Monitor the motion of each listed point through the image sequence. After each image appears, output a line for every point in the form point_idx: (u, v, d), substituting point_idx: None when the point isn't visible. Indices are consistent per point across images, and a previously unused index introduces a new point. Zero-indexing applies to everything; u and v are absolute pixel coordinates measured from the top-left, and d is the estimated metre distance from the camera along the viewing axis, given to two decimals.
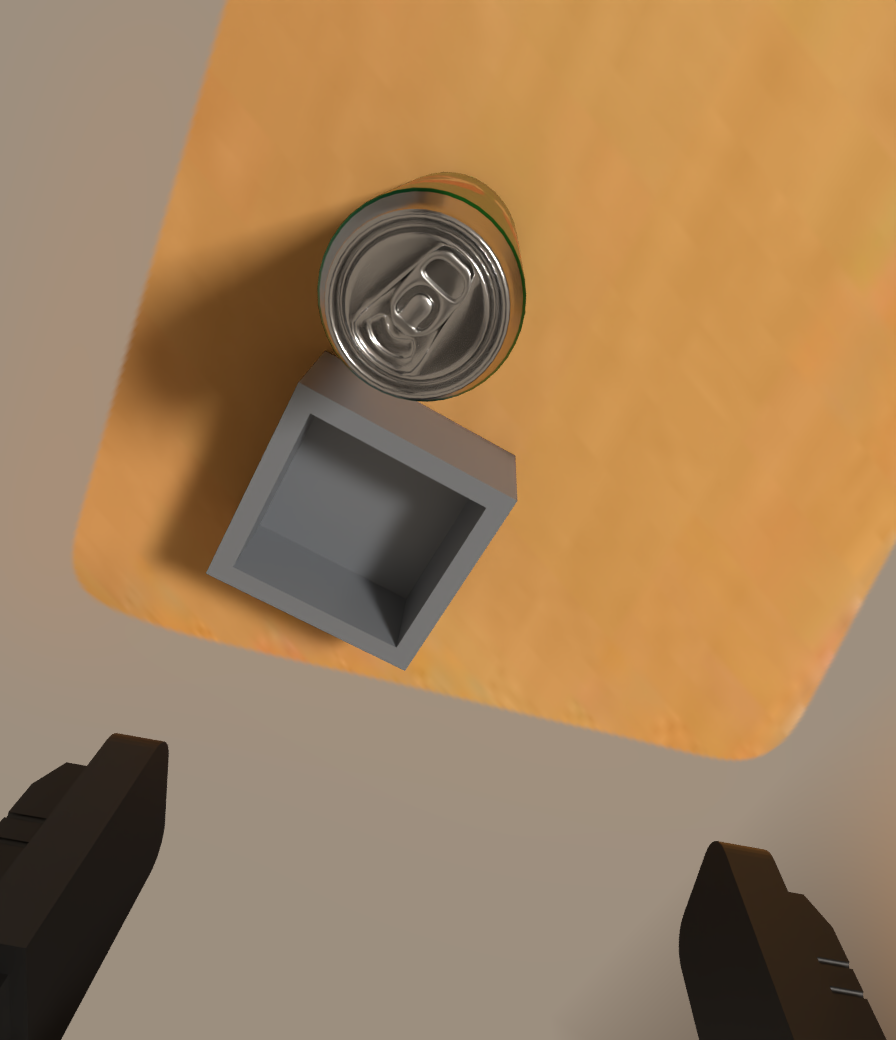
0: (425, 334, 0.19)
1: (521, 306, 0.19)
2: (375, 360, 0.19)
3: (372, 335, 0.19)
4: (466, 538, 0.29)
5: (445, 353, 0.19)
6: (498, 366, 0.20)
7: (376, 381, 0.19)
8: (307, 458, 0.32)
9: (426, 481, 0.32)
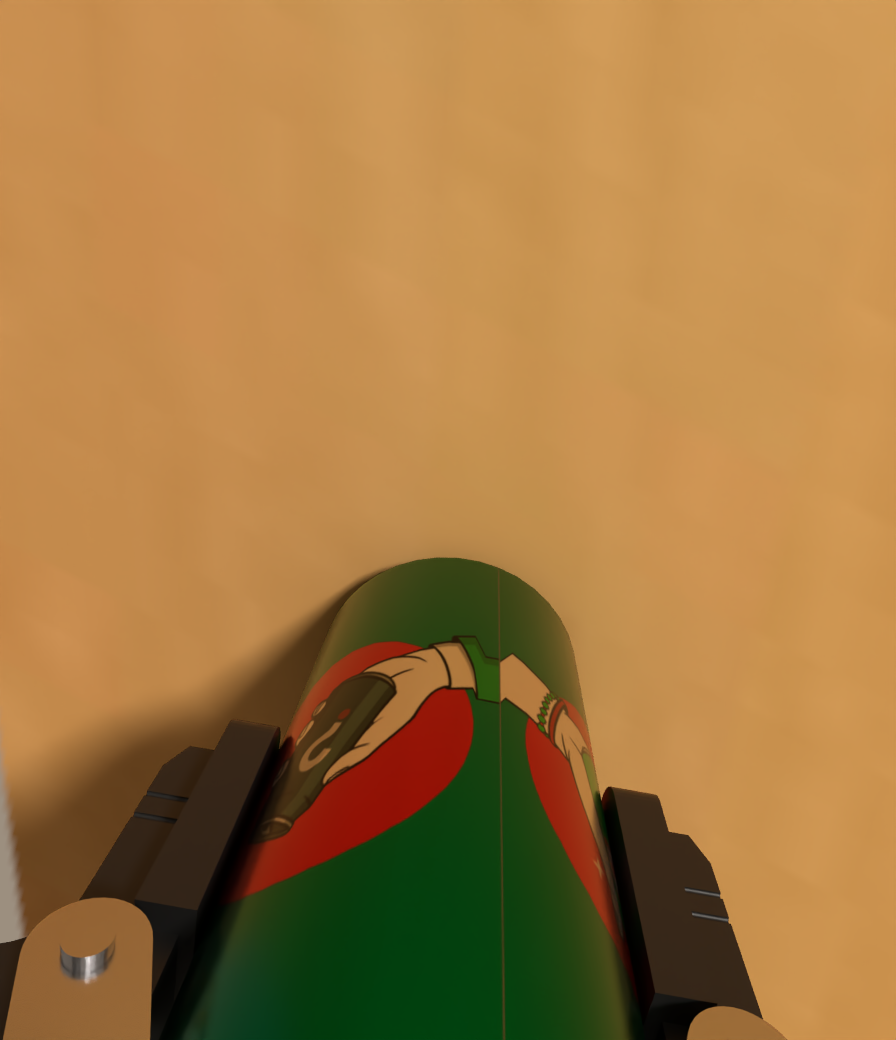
0: None
1: None
2: None
3: None
4: None
5: None
6: None
7: None
8: None
9: None
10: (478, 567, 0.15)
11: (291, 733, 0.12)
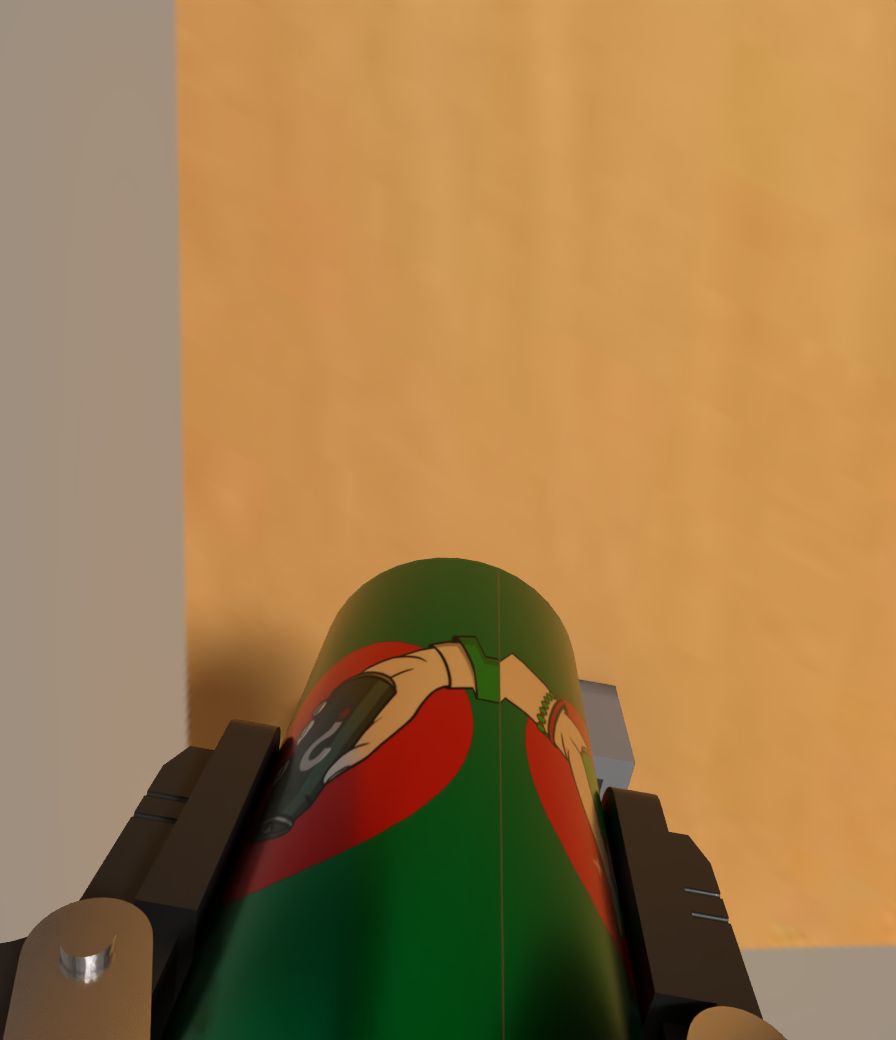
0: None
1: None
2: None
3: None
4: None
5: None
6: None
7: None
8: None
9: None
10: (478, 567, 0.15)
11: (292, 733, 0.12)
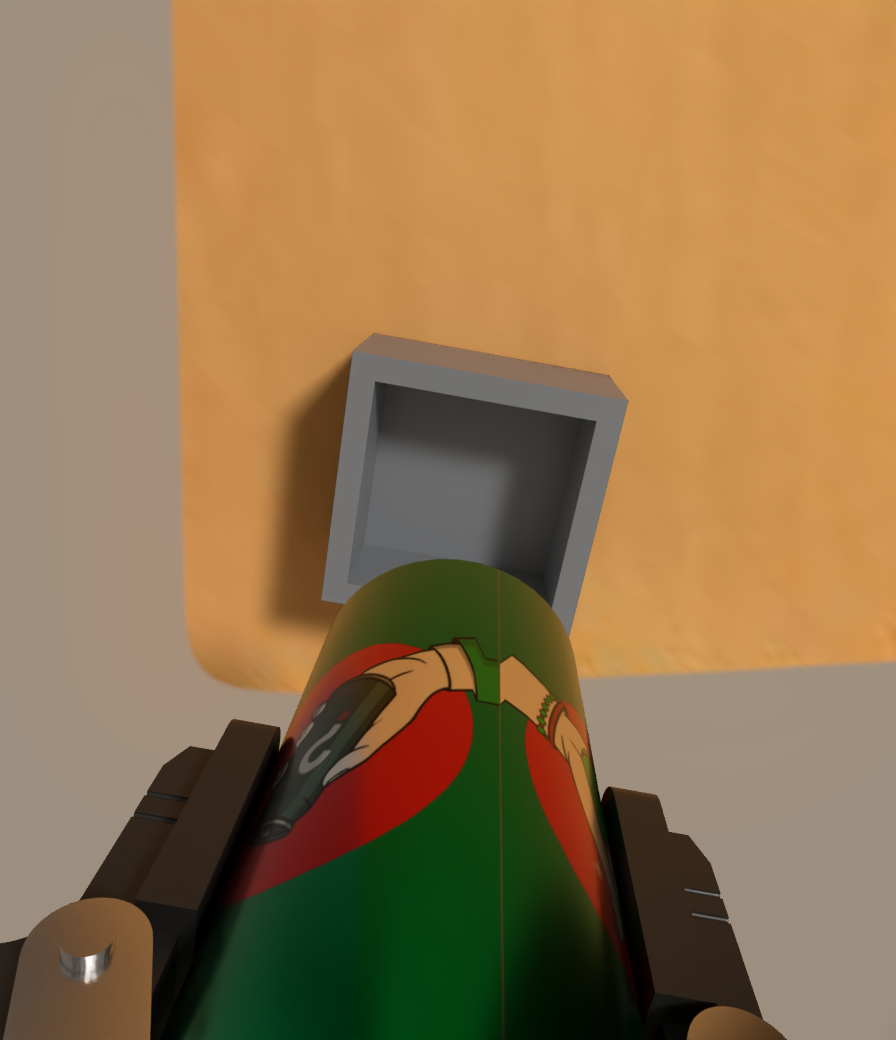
0: None
1: None
2: None
3: None
4: (586, 465, 0.25)
5: None
6: None
7: None
8: (390, 452, 0.29)
9: (522, 434, 0.29)
10: (478, 568, 0.15)
11: (291, 735, 0.12)
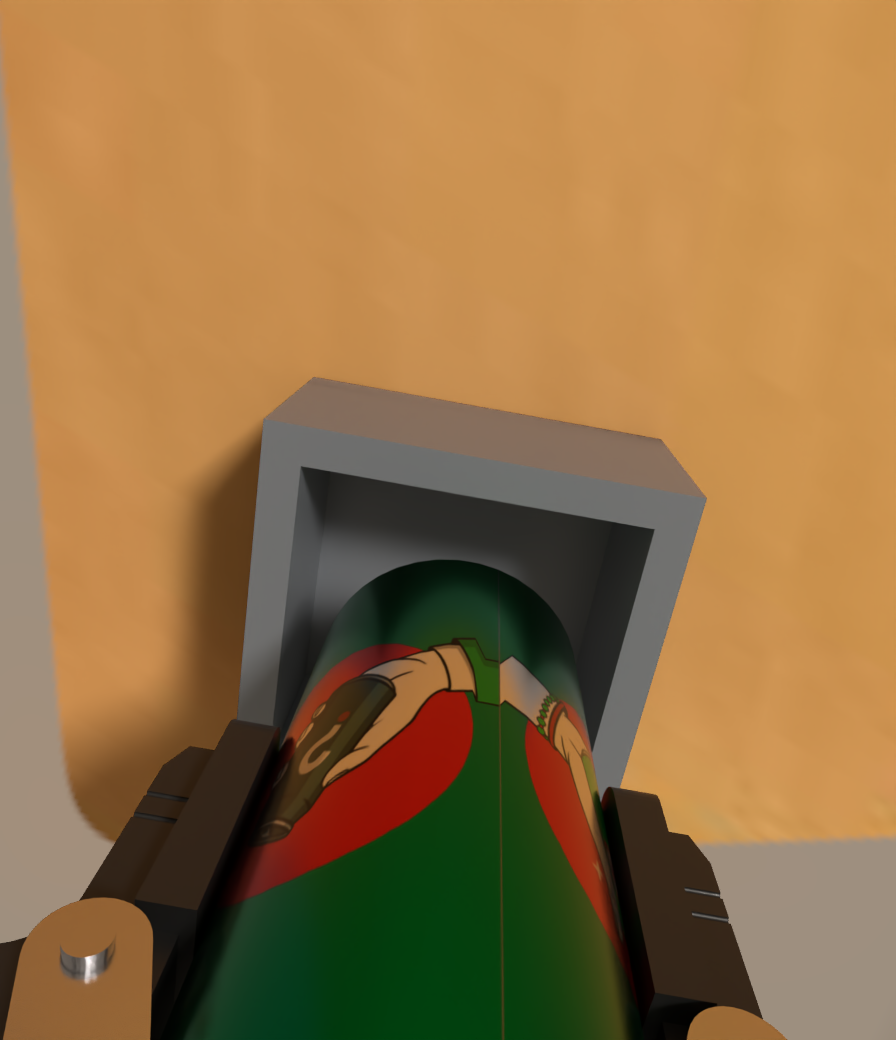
0: None
1: None
2: None
3: None
4: (635, 594, 0.16)
5: None
6: None
7: None
8: (340, 550, 0.20)
9: (533, 525, 0.20)
10: (478, 569, 0.15)
11: (291, 735, 0.12)
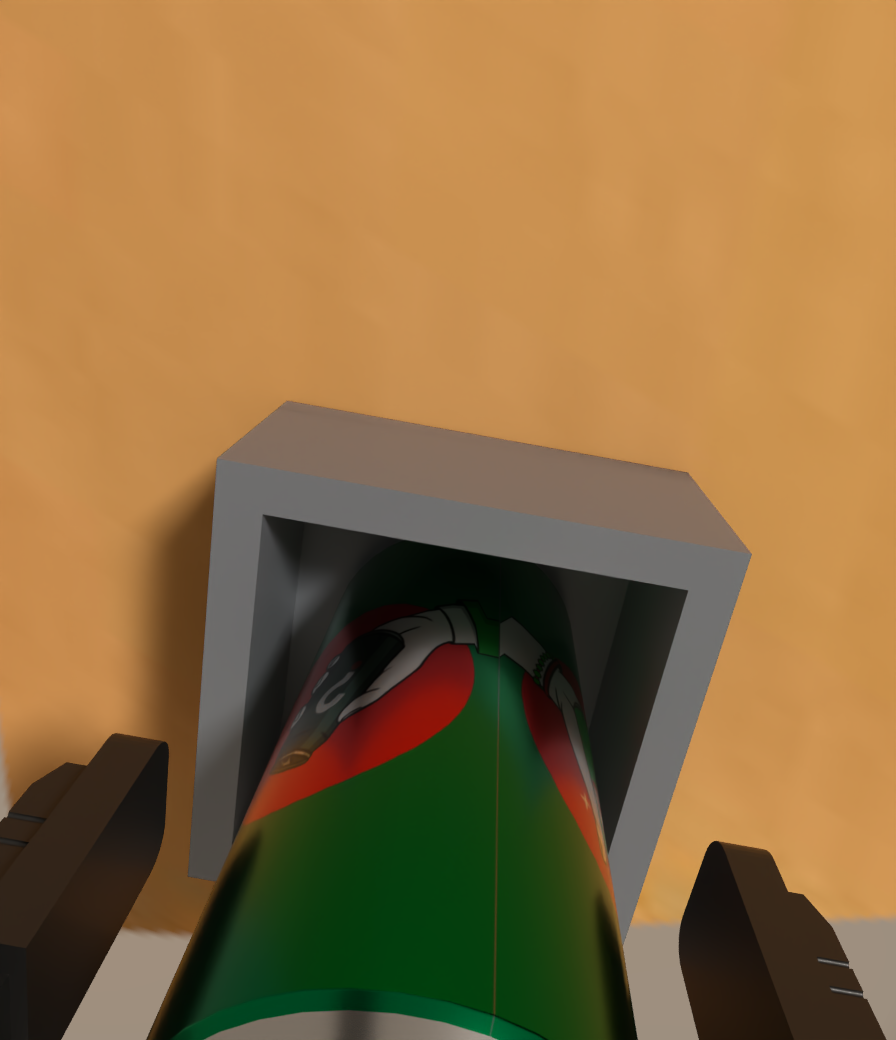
0: None
1: None
2: None
3: None
4: (664, 665, 0.14)
5: None
6: None
7: None
8: (318, 599, 0.18)
9: None
10: None
11: (307, 685, 0.13)
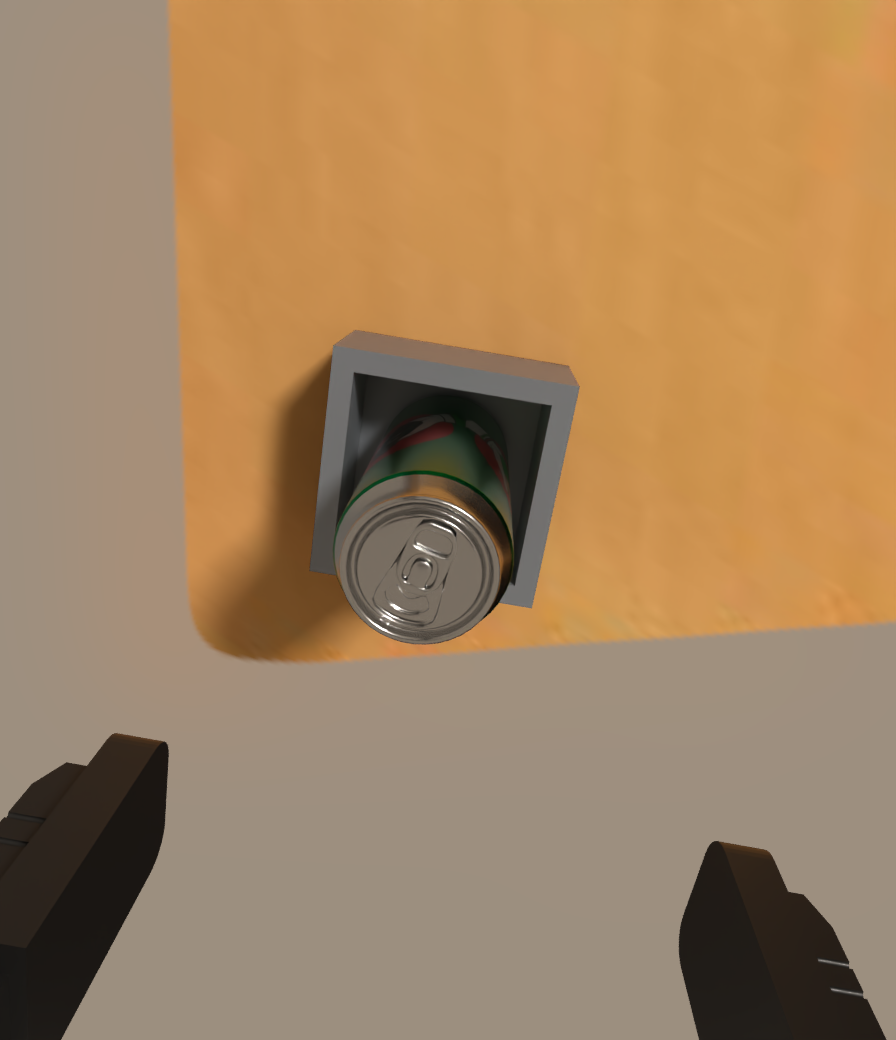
0: (433, 589, 0.21)
1: (506, 537, 0.22)
2: (400, 622, 0.22)
3: (391, 602, 0.22)
4: (543, 445, 0.28)
5: (454, 599, 0.21)
6: (505, 588, 0.22)
7: (406, 638, 0.22)
8: (372, 438, 0.32)
9: None
10: (459, 398, 0.31)
11: (378, 448, 0.28)
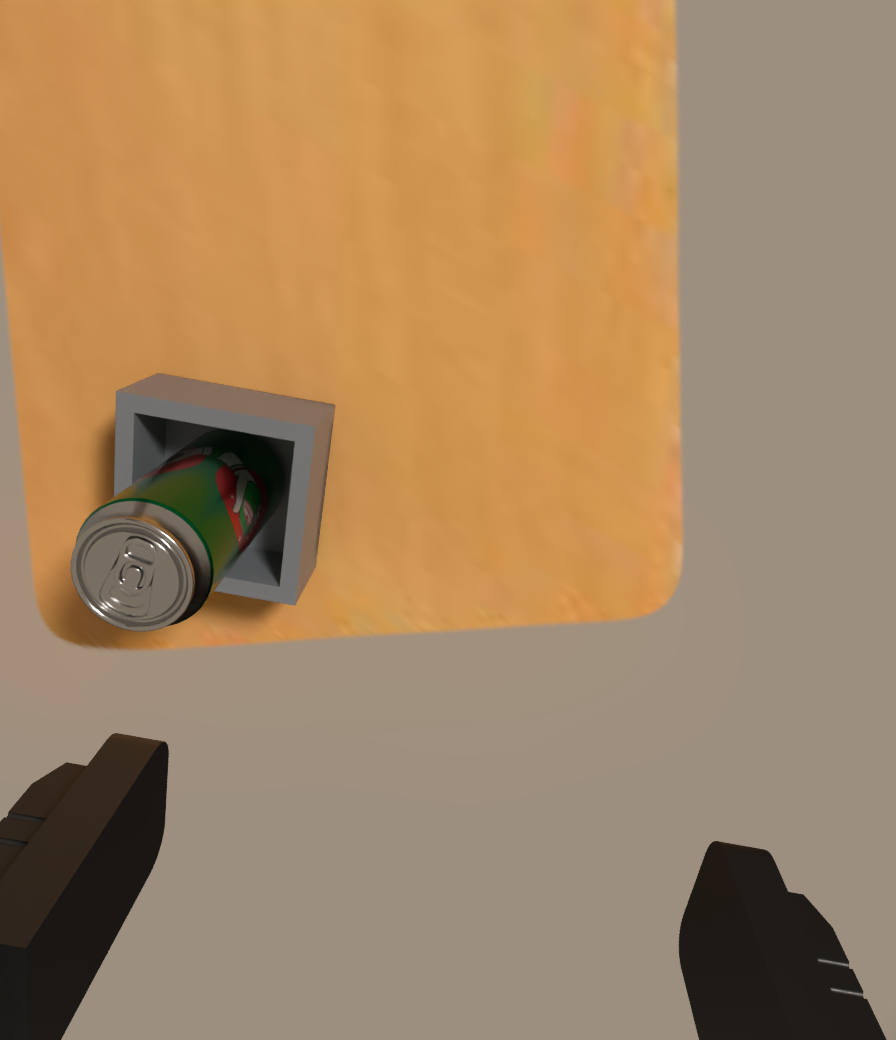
0: (145, 589, 0.28)
1: (204, 549, 0.28)
2: (121, 614, 0.28)
3: (115, 598, 0.28)
4: (292, 472, 0.35)
5: (160, 597, 0.28)
6: (209, 589, 0.29)
7: (127, 626, 0.28)
8: None
9: (271, 449, 0.38)
10: (238, 431, 0.37)
11: None
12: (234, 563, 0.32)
